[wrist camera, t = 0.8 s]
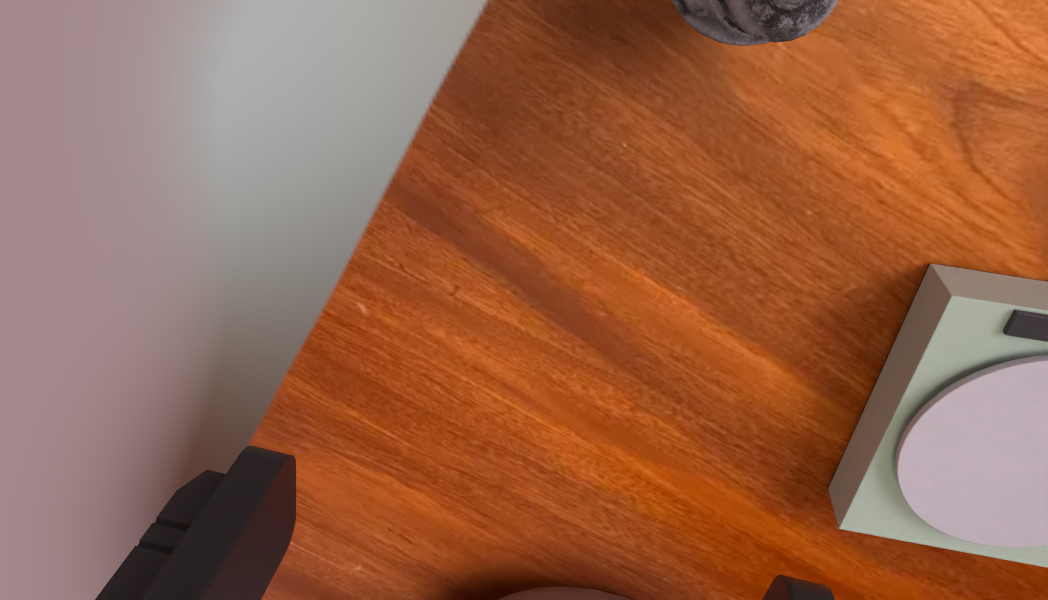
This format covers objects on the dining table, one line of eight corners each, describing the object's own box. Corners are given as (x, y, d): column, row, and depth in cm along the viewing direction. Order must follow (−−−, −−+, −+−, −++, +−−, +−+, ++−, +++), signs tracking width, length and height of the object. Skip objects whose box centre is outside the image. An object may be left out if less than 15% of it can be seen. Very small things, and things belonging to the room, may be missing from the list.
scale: (929, 262, 32) (958, 306, 29) (1221, 308, 31) (1282, 357, 28) (827, 488, 39) (841, 541, 36) (1059, 530, 38) (1094, 588, 35)
